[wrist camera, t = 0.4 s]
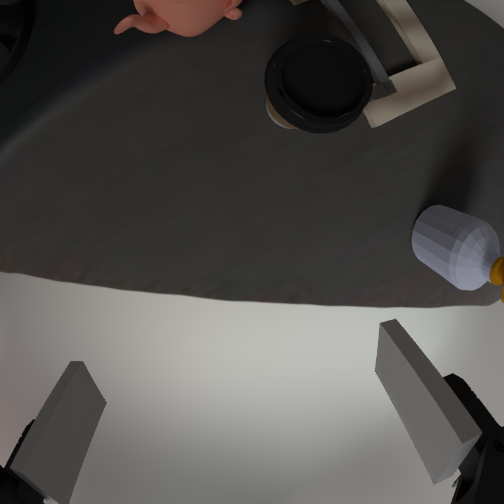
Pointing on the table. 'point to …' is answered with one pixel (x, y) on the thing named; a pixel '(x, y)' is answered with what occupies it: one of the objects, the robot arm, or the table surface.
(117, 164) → the table surface
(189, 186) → the table surface
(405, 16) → the cream rectangular frame
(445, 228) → the spray bottle
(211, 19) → the teapot
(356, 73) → the coffee cup
